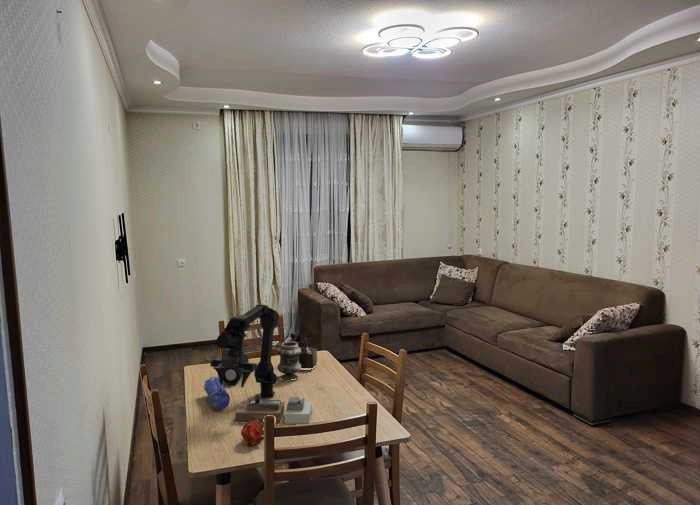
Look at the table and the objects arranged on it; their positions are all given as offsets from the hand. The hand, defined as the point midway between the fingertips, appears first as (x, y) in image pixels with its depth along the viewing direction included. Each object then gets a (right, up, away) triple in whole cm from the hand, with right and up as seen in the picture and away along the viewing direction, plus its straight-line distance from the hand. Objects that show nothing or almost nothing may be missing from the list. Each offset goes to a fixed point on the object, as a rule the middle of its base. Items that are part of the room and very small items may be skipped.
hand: (231, 386), depth 210 cm
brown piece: (+22, -8, +68) cm, 72 cm away
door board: (+11, -13, +3) cm, 18 cm away
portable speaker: (-10, -9, +52) cm, 54 cm away
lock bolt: (+13, -9, +2) cm, 16 cm away
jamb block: (+27, -14, +2) cm, 31 cm away
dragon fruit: (+13, -16, -20) cm, 29 cm away
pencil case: (-11, -12, +18) cm, 24 cm away
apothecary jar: (+18, -9, +50) cm, 54 cm away
